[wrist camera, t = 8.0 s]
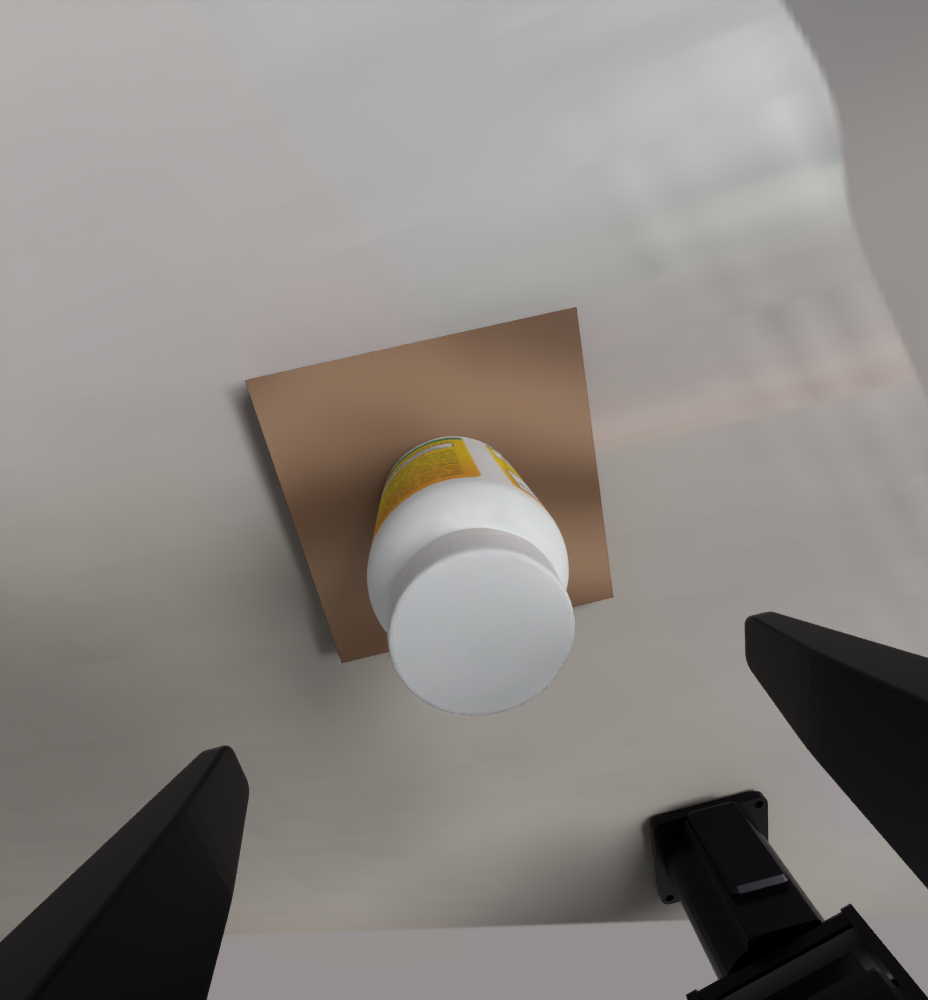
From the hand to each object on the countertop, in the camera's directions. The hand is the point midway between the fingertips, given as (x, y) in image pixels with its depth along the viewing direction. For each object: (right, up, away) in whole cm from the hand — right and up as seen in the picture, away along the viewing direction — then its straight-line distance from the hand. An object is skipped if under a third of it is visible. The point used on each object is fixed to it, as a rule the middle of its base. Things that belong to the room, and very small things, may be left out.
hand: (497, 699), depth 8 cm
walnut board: (-1, +4, +12) cm, 13 cm away
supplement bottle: (-1, +3, +11) cm, 12 cm away
